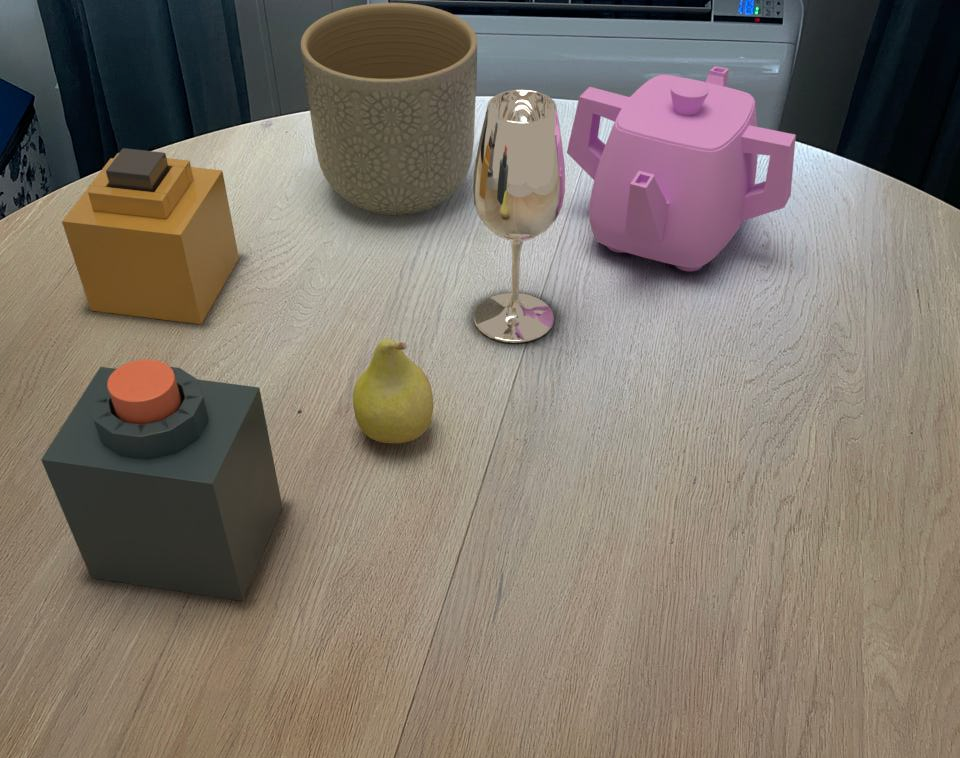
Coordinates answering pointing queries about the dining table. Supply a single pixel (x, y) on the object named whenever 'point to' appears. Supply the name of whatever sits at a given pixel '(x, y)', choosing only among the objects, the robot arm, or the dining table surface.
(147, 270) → the push-button base
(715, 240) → the teapot
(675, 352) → the dining table surface
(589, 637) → the dining table surface
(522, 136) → the wineglass
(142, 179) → the button
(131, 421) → the red button
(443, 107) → the planter
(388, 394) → the fruit
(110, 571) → the button box
